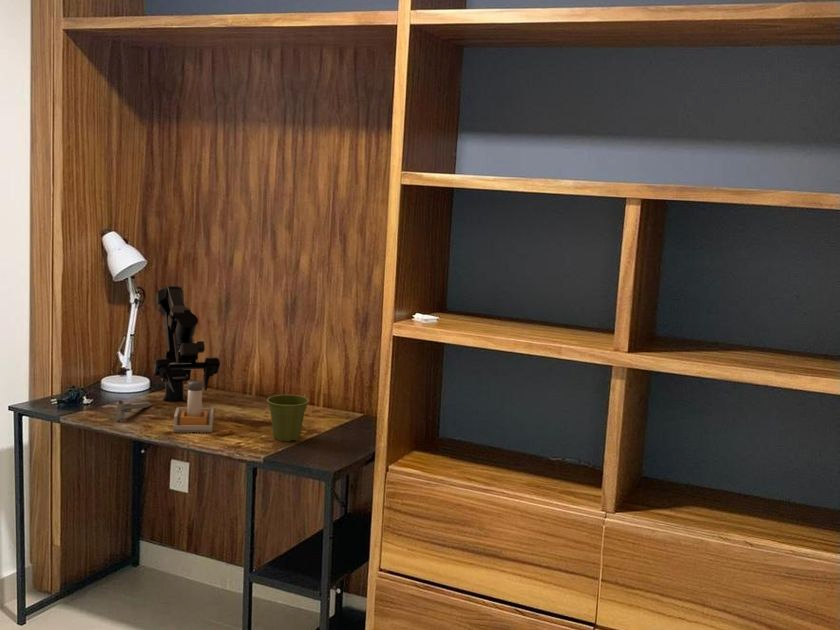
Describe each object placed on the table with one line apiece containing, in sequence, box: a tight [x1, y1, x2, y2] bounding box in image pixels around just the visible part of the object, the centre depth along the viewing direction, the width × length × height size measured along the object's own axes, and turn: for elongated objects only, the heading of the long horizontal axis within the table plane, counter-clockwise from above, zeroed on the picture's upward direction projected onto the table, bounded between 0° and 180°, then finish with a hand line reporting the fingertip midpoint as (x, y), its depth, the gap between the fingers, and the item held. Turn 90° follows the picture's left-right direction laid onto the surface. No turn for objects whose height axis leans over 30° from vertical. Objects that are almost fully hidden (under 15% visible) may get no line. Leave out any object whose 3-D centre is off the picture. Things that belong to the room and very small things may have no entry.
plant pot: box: [266, 394, 310, 442], centre depth 241 cm, size 12×12×11 cm
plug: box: [186, 380, 204, 417], centre depth 245 cm, size 4×4×12 cm
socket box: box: [172, 406, 215, 434], centre depth 245 cm, size 11×11×4 cm
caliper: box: [115, 399, 153, 422], centre depth 256 cm, size 20×1×6 cm, turn 171°
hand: (190, 390), depth 250 cm, fingers open, 9 cm apart
